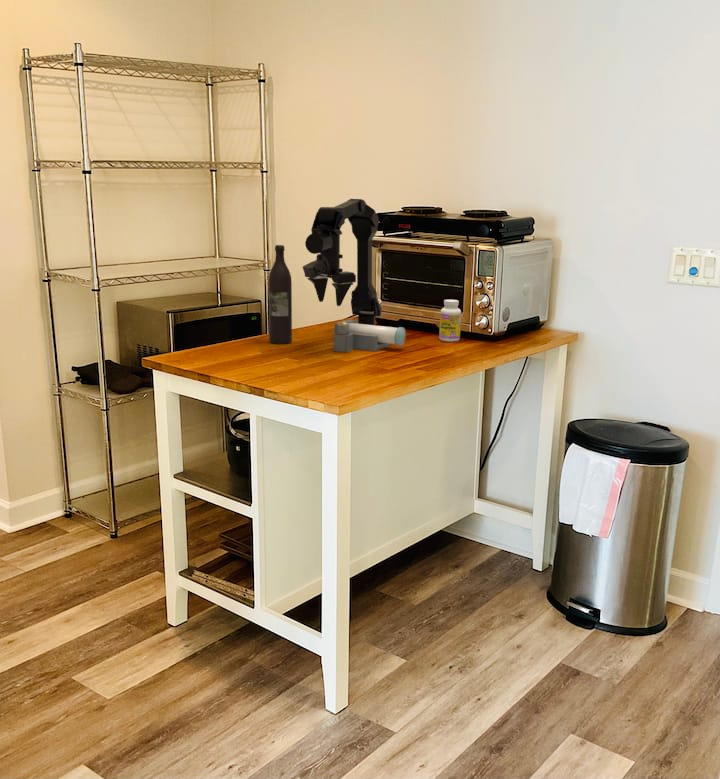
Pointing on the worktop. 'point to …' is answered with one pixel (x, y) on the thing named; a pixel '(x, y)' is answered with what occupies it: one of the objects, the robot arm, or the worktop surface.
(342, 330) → the release plunger
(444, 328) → the supplement bottle
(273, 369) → the worktop surface
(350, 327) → the cylinder
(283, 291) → the wine bottle
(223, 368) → the worktop surface
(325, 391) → the worktop surface
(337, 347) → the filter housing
